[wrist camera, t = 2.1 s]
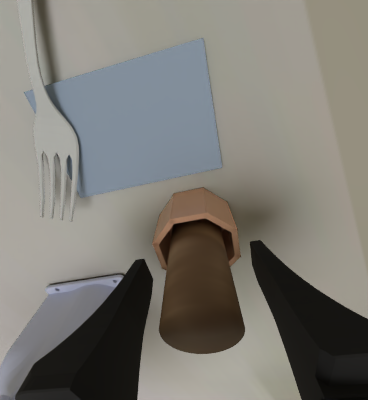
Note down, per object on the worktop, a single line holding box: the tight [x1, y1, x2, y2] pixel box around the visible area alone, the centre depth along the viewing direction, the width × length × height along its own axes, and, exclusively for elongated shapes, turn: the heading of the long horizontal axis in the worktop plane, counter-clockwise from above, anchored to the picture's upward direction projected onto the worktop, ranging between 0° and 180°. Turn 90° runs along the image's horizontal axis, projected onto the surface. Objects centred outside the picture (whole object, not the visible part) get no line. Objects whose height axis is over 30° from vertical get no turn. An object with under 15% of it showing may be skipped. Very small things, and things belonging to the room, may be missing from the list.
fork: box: [17, 0, 79, 222], centre depth 10 cm, size 3×24×2 cm, turn 173°
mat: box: [24, 38, 222, 198], centre depth 14 cm, size 12×8×1 cm, turn 103°
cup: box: [152, 187, 241, 270], centre depth 16 cm, size 6×6×4 cm
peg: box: [159, 218, 245, 354], centre depth 13 cm, size 4×4×9 cm
